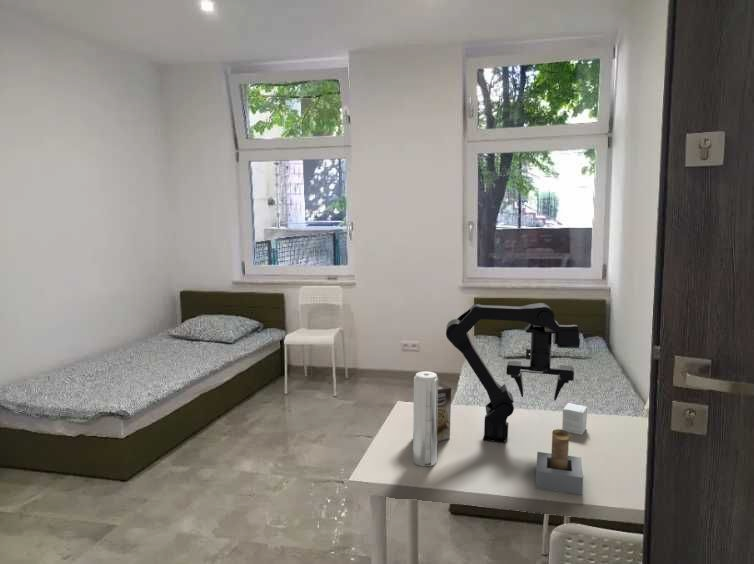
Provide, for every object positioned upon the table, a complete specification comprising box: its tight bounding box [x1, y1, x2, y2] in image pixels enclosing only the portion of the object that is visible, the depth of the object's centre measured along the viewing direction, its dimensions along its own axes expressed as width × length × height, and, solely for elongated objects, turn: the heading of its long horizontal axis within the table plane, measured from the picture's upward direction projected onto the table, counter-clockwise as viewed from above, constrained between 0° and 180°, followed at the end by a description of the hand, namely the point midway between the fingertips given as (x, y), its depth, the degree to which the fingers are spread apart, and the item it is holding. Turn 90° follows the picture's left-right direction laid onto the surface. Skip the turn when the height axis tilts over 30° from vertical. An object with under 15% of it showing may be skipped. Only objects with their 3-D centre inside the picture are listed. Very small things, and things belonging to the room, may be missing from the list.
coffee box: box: [437, 381, 452, 442], centre depth 166 cm, size 9×6×16 cm
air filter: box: [412, 370, 439, 467], centre depth 151 cm, size 6×6×25 cm
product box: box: [561, 402, 588, 436], centre depth 172 cm, size 6×6×7 cm
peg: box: [550, 428, 570, 471], centre depth 141 cm, size 4×4×13 cm
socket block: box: [535, 451, 584, 496], centre depth 142 cm, size 11×11×4 cm
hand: (538, 398), depth 164 cm, fingers open, 9 cm apart
